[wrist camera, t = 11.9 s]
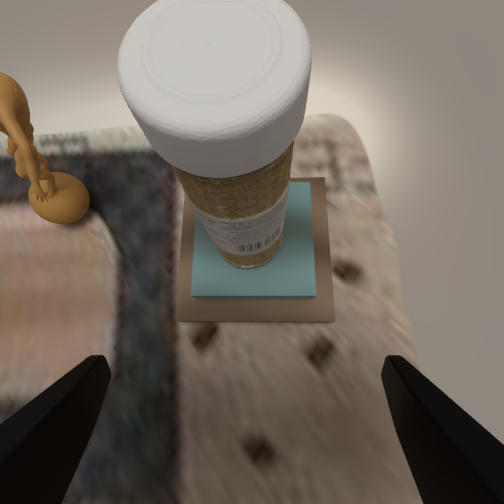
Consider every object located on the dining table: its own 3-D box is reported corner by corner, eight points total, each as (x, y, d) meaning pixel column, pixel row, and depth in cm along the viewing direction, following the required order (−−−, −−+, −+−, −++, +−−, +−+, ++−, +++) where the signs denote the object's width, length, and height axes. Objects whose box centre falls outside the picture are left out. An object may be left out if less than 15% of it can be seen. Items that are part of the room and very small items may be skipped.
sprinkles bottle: (276, 203, 20) (297, -43, 7) (287, 266, 19) (335, 113, 6) (211, 211, 20) (109, -15, 7) (217, 275, 19) (106, 144, 6)
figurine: (38, 183, 25) (-153, 57, 14) (100, 151, 26) (-33, 4, 14) (73, 261, 23) (-120, 189, 12) (139, 223, 24) (19, 119, 12)
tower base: (330, 322, 21) (342, 320, 17) (181, 321, 21) (165, 319, 18) (320, 186, 24) (330, 162, 20) (190, 189, 24) (178, 166, 21)
